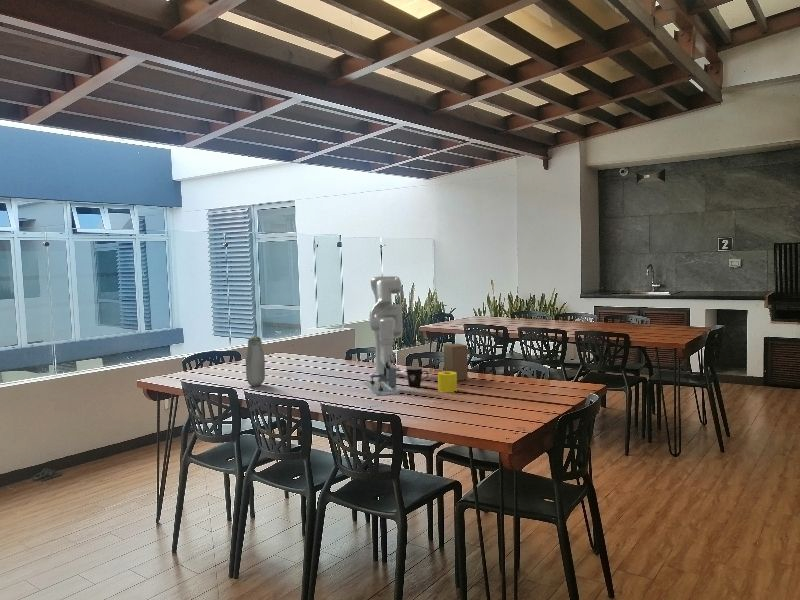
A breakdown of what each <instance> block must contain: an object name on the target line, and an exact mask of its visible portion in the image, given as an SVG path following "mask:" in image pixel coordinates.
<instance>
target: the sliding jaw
mask: <svg viewBox="0 0 800 600" xmlns="http://www.w3.org/2000/svg"><path fill="white" fill-rule="evenodd" d="M377 381H378V382H379V387H381V382H382V381H386V385H387V386H389V387H393V386H394V387H397V371H396V369H395V367H394V368H386V379H378V378H377Z"/></svg>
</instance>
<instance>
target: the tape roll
mask: <svg viewBox="0 0 800 600" xmlns="http://www.w3.org/2000/svg"><path fill="white" fill-rule="evenodd" d="M456 390H457V391H458V381H457V373H456V372H451V371H444V370H443V371H439V372H437V392H439V391H442V392H452V393H455V392H454V391H456ZM457 391H456V392H457ZM442 392H441V393H442Z"/></svg>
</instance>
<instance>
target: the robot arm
mask: <svg viewBox="0 0 800 600" xmlns="http://www.w3.org/2000/svg"><path fill="white" fill-rule="evenodd" d="M370 287H371V290H372V292H373V295H374V300H375V303H374V305H373V306H372V307H371V309H370V311H369V327H370V330H372V331H373V335H374V341H375V342H374V343H375V371H374V372H373V375H378V374H384V375H385V376H386V368H395V369H396V372H398V371H399V372H400V367H393V366H392V363H393V361H394V355H393V354H394V351H393V345H395V343H394V342H395V341H394V339H399V338H402V337H403V332H404V331H403V329H404V327H403V309H402V307H401V305H400V304H397V303H396V304H395V303H393V302H392V299H393V298H392V294H393V295H396V294H400V293H401V292H402V287H403V286H402V281H401V278H400V277H399V276H397V275H396V276H392V275H391V276H386V275H385V276H384V275H383V276H375V277H372V278H371V279H370Z"/></svg>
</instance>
